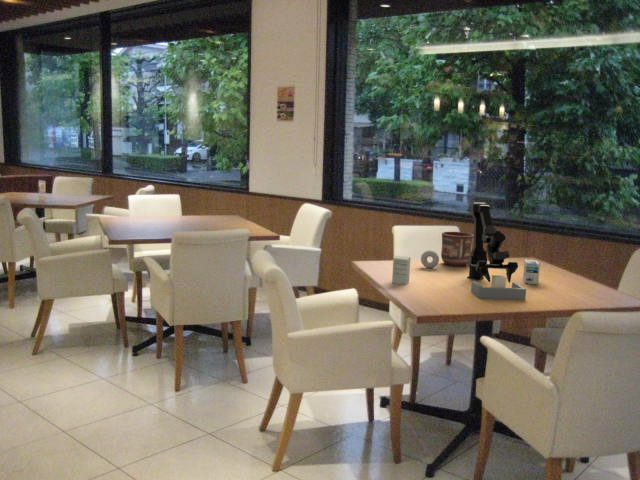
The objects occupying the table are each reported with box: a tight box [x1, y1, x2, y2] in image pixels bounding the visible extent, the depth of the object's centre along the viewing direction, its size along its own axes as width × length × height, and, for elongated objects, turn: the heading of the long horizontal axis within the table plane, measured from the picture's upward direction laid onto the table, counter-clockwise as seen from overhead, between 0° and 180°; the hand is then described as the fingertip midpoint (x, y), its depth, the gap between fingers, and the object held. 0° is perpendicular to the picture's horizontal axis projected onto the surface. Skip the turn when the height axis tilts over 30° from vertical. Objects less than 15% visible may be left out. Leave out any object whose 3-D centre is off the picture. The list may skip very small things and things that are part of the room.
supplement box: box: [391, 255, 411, 285], centre depth 310 cm, size 7×7×13 cm
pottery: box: [440, 231, 474, 267], centre depth 360 cm, size 18×18×18 cm
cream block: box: [490, 274, 507, 288], centre depth 292 cm, size 5×5×9 cm
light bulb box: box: [522, 259, 541, 285], centre depth 323 cm, size 11×7×11 cm, turn 168°
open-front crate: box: [470, 280, 527, 301], centre depth 292 cm, size 14×21×5 cm, turn 93°
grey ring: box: [420, 250, 440, 269], centre depth 348 cm, size 10×4×10 cm, turn 70°
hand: (499, 282), depth 290 cm, fingers open, 9 cm apart
